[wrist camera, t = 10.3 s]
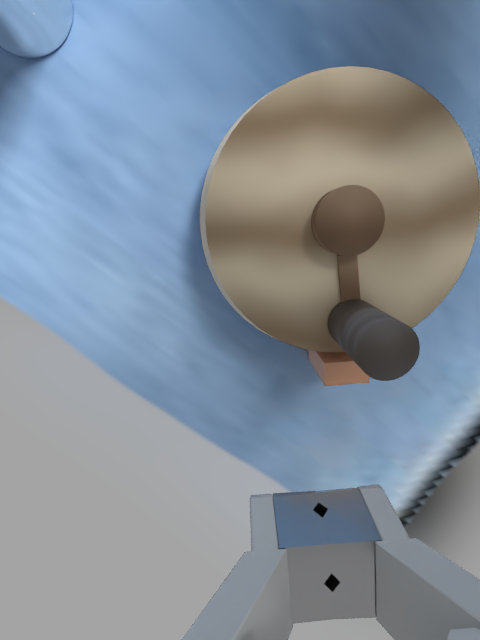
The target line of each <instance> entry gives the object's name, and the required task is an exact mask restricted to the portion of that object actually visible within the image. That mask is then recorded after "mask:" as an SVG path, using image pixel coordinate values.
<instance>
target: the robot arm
mask: <svg viewBox="0 0 480 640" xmlns="http://www.w3.org/2000/svg"><path fill="white" fill-rule="evenodd" d="M250 519H251V549H252V551H251V552H245V553H244V554H243V555H242V557H241V558H240V560H239V561H238V562H237V564H236V565H235V567H234V568H233V569H232V571H231V572H230V574H229V575H228V576H227V578H226V579H225V580H224V582H223V583H222V585H221V586H220V588H219V589H218V590H217V592H216V593H215V594H214V596H213V597H212V599H211V600H210V601H209V603H208V604H207V606H206V607H205V608H204V610H203V611H202V612H201V614H200V615H199V617H198V618H197V619H196V621H195V622H194V624H193V625H192V626H191V628H190V629H189V631H188V632H187V633H186V635H185V636H184V638H183V639H182V640H288V638H289V635H290V633H291V630H292V628H293V623H302V622H311V621H320V620H330V619H349V618H372V617H377V621H378V622H379V623H380V624H381V625H382V626H383V627H384V628H385V629H386V631H387V632H388V633H389V634H390V635H391V636H392V637H393V638H394V639H395V640H480V579H478V578H477V577H475V576H474V575H472V574H471V573H469V572H467V571H466V570H464V569H463V568H461V567H460V566H458V565H457V564H455V563H454V562H452V561H451V560H449V559H448V558H446V557H445V556H443V555H442V554H440V553H438V552H437V551H435V550H434V549H432V548H431V547H429V546H428V545H426V544H425V543H423V542H422V541H420V540H419V539H410V538H409V536H408V534H407V533H406V530H405V529H404V527H403V525H402V523H401V521H400V519H399V518H398V516H397V514H396V512H395V510H394V508H393V507H392V505H391V503H390V501H389V499H388V497H387V496H386V494H385V492H384V490H383V488H382V487H381V486H380V485H370V486H361V487H357V488H347V489H336V490H324V491H308V492H291V493H275V494H273V497H272V494H263V495H251V497H250Z"/></svg>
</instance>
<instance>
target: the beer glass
mask: <svg viewBox="0 0 480 640" xmlns="http://www.w3.org/2000/svg"><path fill="white" fill-rule="evenodd" d="M72 19H73V3H72V0H0V46H1V47H2V48H4V49H5V50H7V51H8V52H10V53H12V54H15V55H18V56H21V57H26V58H38V57H43V56H46V55H48V54H50V53H52V52H54V51H55V50H56V49H58V48H59V47H60V46H61V44H62V43H63V42H64V41H65V39H66V37H67V36H68V33H69V31H70V28H71V25H72Z"/></svg>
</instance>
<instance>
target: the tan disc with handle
mask: <svg viewBox="0 0 480 640" xmlns="http://www.w3.org/2000/svg"><path fill="white" fill-rule="evenodd" d="M479 212H480V189H479V179H478V174H477V169H476V164H475V161H474V158H473V155H472V152H471V149H470V146H469V144H468V142H467V140H466V138H465V136H464V134H463V132H462V130H461V128H460V127H459V125H458V124H457V122H456V121H455V119H454V118H453V117H452V115H451V114H450V112H449V111H448V110H447V109H446V108H445V107H444V106H443V105H442V104H441V103H440V102H439V101H438V100H437V99H436V98H435V97H434V96H432V95H431V94H430V93H429V92H427V91H426V90H425V89H423V88H422V87H420V86H419V85H417V84H415V83H413V82H412V81H410V80H408V79H406V78H404V77H401V76H399V75H396V74H393V73H391V72H388V71H383V70H379V69H374V68H370V67H355V66H346V67H334V68H328V69H323V70H319V71H315V72H311V73H308V74H306V75H303V76H300V77H298V78H295V79H293V80H291V81H289V82H287V83H286V84H284V85H282V86H280V87H278V88H277V89H275V90H274V91H272V92H271V93H270V94H268V95H267V96H266V97H264V98H263V99H262V100H260V101H259V102H258V103H257V104H256V105H255V106H254V107H253V108H252V109H251V110H250V111H249V112H248V113H247V114H246V115H245V116H244V117H243V118H242V120H241V121H240V122H239V123H238V125H237V126H236V127H235V129H234V130H233V131H232V133H231V134H230V136H229V138H228V140H227V141H226V143H225V145H224V146H223V148H222V150H221V152H220V155H219V157H218V159H217V162H216V164H215V166H214V169H213V173H212V176H211V180H210V183H209V187H208V194H207V201H206V217H205V226H206V235H207V244H208V248H209V252H210V256H211V261H212V263H213V266H214V269H215V271H216V274H217V277H218V278H219V280H220V282H221V284H222V286H223V288H224V290H225V292H226V293H227V295H228V296H229V297H230V299H231V300H232V302H233V303H234V304H235V306H236V307H237V308H238V309H239V310H240V311H241V312H242V313H243V314H244V315H245V317H246V318H247V319H249V320H250V321H251V322H252V323H253V324H255V325H256V326H257V327H258V328H260V329H261V330H263V331H264V332H266V333H267V334H269V335H271V336H272V337H274V338H276V339H278V340H280V341H283V342H285V343H287V344H289V345H293V346H296V347H299V348H303V349H307V350H313V351H319V352H346V353H347V354H348V355H349V356H350V357H351V358H352V360H353V361H354V362H355V363H356V364H357V365H358V366H359V367H360V368H361V369H362V370H363V371H364V373H366V374H367V375H368V376H370V377H371V378H374V379H377V380H382V381H388V380H394V379H397V378H399V377H401V376H403V375H404V374H406V373H407V372H408V371H409V370H410V369H411V368H412V367H413V366H414V364H415V362H416V360H417V358H418V355H419V340H418V337H417V335H416V333H415V332H414V331H413V329H412V328H413V327H414V326H416V325H417V324H418V323H420V322H421V321H422V320H423V319H424V318H426V317H427V316H428V315H429V314H430V313H431V312H432V311H433V310H434V309H435V308H436V307H437V306H438V305H439V304H440V303H441V302H442V301H443V300H444V298H445V297H446V296H447V295H448V293H449V292H450V291H451V289H452V288H453V287H454V285H455V283H456V282H457V280H458V278H459V277H460V275H461V273H462V272H463V269H464V267H465V265H466V263H467V261H468V258H469V256H470V253H471V250H472V247H473V244H474V241H475V238H476V233H477V227H478V222H479Z"/></svg>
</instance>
